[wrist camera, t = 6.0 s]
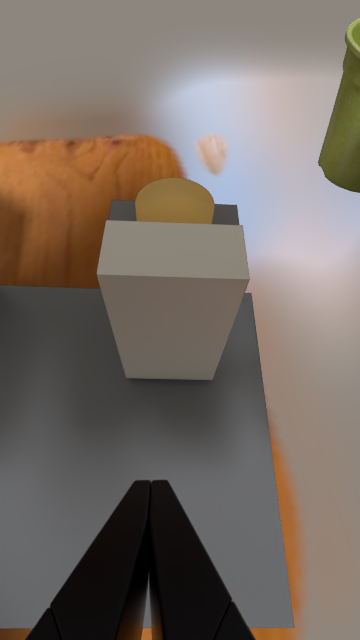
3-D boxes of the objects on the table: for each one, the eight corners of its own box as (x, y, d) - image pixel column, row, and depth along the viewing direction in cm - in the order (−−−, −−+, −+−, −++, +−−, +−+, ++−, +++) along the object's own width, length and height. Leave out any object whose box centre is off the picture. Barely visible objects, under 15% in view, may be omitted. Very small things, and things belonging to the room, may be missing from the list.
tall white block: (212, 379, 15) (249, 279, 8) (126, 378, 15) (96, 274, 8) (210, 341, 16) (242, 225, 9) (130, 339, 16) (106, 219, 9)
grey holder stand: (280, 615, 12) (452, 771, 5) (-237, 615, 12) (-915, 795, 4) (245, 305, 19) (294, 183, 12) (-76, 295, 19) (-227, 160, 12)
